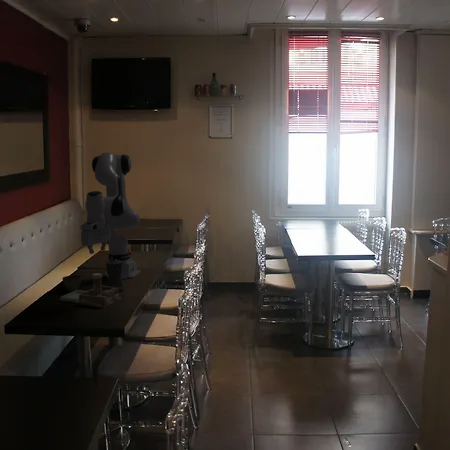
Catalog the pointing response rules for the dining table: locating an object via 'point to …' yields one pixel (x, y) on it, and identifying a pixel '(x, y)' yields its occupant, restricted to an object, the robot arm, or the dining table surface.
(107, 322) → the dining table surface
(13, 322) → the dining table surface
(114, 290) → the offcut oak
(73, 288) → the flower pot
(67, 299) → the tray
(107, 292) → the offcut pine
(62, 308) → the dining table surface
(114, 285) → the coffeepot
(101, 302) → the rack
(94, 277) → the sprinkles bottle
